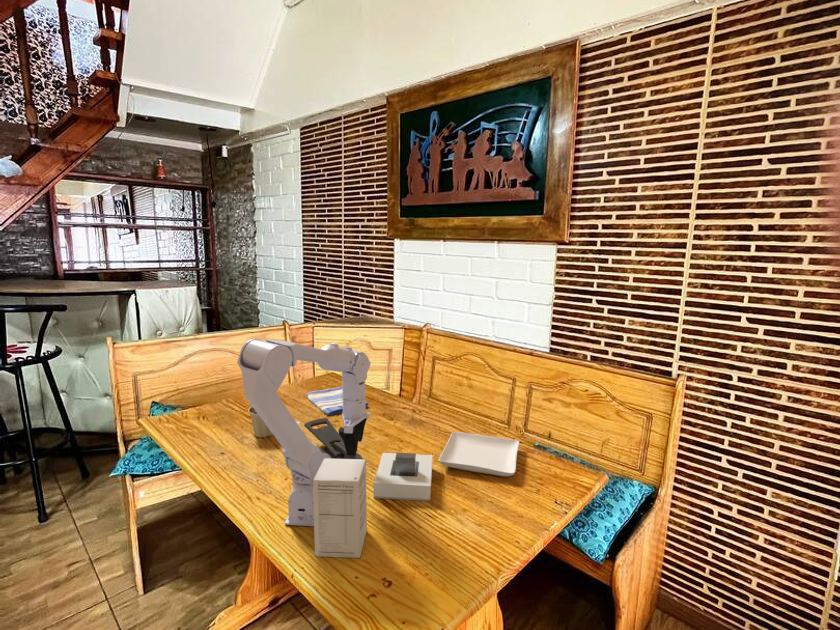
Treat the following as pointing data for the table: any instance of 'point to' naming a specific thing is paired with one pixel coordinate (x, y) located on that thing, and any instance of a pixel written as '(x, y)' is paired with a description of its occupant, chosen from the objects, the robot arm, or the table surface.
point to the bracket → (405, 464)
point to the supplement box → (340, 508)
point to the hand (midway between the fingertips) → (354, 447)
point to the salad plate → (480, 454)
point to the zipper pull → (330, 439)
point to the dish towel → (328, 400)
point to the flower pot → (258, 424)
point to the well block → (403, 479)
